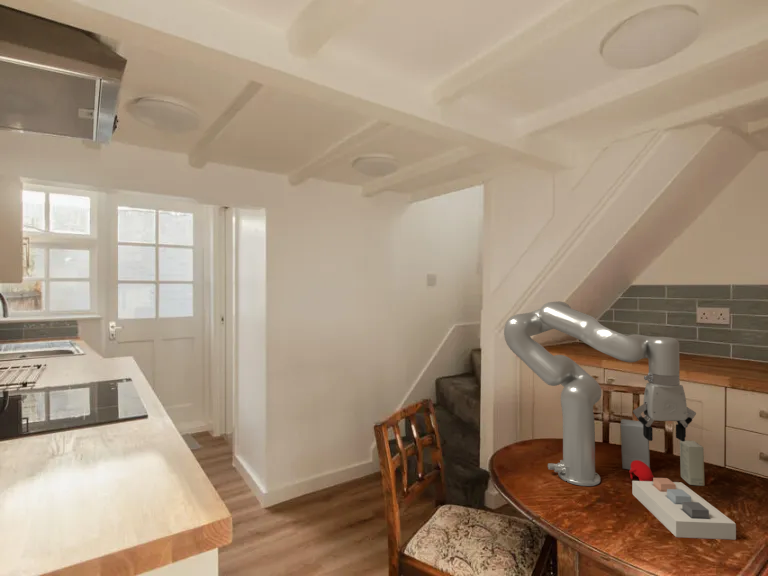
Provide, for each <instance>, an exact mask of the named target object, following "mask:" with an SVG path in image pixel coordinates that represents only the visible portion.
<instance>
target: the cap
mask: <svg viewBox="0 0 768 576" xmlns="http://www.w3.org/2000/svg"><path fill="white" fill-rule="evenodd" d="M628 472H629V475H630V479H631V480H633V478H634V477H633V476H634V475H635V476H636V477H638V481H653V478H655V476H654V474H653V472H652V470H651V467H650V468H649V467H648V466H647V465H646V464H645V463H644V462H642V461H639V460H634V461H632V463H631V469H630V470H629V471H628ZM633 474H634V475H633Z"/></svg>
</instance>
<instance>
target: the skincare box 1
mask: <svg viewBox="0 0 768 576" xmlns="http://www.w3.org/2000/svg"><path fill="white" fill-rule="evenodd" d="M620 438H621V439H620V440H621V441H620V442H621V445H620V446H621V462H622V464H621V465H622V469H623V470H629V471H630V469H631V463H632V461H634V460H639V461H642V462H644V463H645V464H646V465H647V466H648V467H649V468H650V469H651V465H650V464H651V463H650V460H651V459H650V458H651V457H650V441H649V440H648V439H646V438H645V437H644V435H643V424H642V423H641V422H640V421H639V420H633V419H632V420H631V419H625V418H624V419H623V418H622V419H621V421H620Z"/></svg>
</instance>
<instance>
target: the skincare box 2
mask: <svg viewBox="0 0 768 576" xmlns="http://www.w3.org/2000/svg"><path fill="white" fill-rule="evenodd" d="M704 453H705V452H704V446H702V445H701V444H699V443H698V442H696V441H695V440H685V441H681V440H679V459H680V460H679V461H680V465H679V466H680V477H681V478H682V480H684V481H685V482H686V483H687V484H688V485H691V486H701V487H705V460H704V457H705V455H704Z"/></svg>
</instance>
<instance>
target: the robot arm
mask: <svg viewBox="0 0 768 576" xmlns="http://www.w3.org/2000/svg"><path fill="white" fill-rule="evenodd" d="M551 330H556V331H558V332H560V333H563V334H565V335H568V336H570V337H573V338H575V339H578V340H579V341H581V342H583V343H584V344H585V345H588V346H590V347H591V348H593V349H594V350H597V351H599V352H601V353H603V354H605V355H608V356H609V357H612V358H614V359H617V360H619V361H622V362H624V363H625V362H626V363H636V362H638V361H640V360H641V359H642V360H643V359H647V360H648V372H647V375H644V376H643V379H644V381H647V382H646V383H645V384H646V385H645V388H644V393H643V402H642V403H643V404H641V405H639V406H638V407H636V408H635V409H633V411H632V412H633V415H634V416H635V418H636V420H637V421H640V422H641V423H642V424H643V435H644V437H645V438H646V439H648V440H649V442H652V441H653V438H654V437H653V427H652V425H653V423H654V422H655V421H660V422H662V421H663V422H676V423H677V424H676V425H675V438H676V439H678V440H679V441H680V440H681V441H686V437H687V433H686V432H687V431H686V430H687V428H688V427H689V424H691V422H692V421H693V419H694V418H695V416H696V414H697V412H696V411H694V410H693V409H691V408H690V407H688V405H687V398H686V394H685V393H686V392H685V389H684V386H683V385H682V384H680V378H681V377H680V342H679V340H678V339H677V338H674V337H671V336H649V335H648V336H647V335H645V334H644V335H643V334H637V333H635V334H628V335H626V334H623V333H620V332H617V331H615V330H613V329H610V328H608V327H606V326H604V325H602V324H601V323H600V322H599V321H598V320H597V319H596V317H594V316H592V315H591V314H587V313H584V312H582V311H579V310H576V309H573V308H572V307H571V306H570V305H569V304H567V302H564V301H549V302H546V303H545V304H543V305H542V306H541V307H540V308H538V309H536V310H533V311H530V312H526V313H518V314H515V315H513V316H510V317H509V318H508V320H507V321H506V322H505V325H504V329H503V337H504V340H505V342H506V345H507V346H508V349H510V351H511V352H513V354H514V355H516V357H518V358H519V360H521V361H522V362H523V363H524V364H525V365H527V367H528V368H529V369H530V370H531V371H532V372H533V373H534V374H535V375H536V376H537V377H538V378H540V379H541V380H542V381H543V383H545V384H546V385H548V386H552V387H557V386H559V385H561V386H562V387H563V388H562V390H561V392H560V406H561V412H562V459H560V460H559V461H560V462H557V463H553V462H551V463H547V468H548V469H547V470H549V471H550V470H553V471H554V473H557V475H558V477H559V478H560V479H562V481H564V482H566V481H567V483H568V484H569V483H570V484H572V485H576V486H581V487H593V486H597V485H599V484H600V483H601V476H600V475H599V474H598V473H597V472H596V437H595V436H596V433H595V432H596V431H595V428H596V427H595V426H596V425H595V416H594V405H595V404H596V403H598V402H599V401H600V399H601V398H602V393H603V391H602V387H601V385H600V384H599V382H598V381H597V380H596V378H594V377H593V376H592V375H590V374H589V373H588V372H587V371H586V370H585V369H584V368H582V367H581V366H580V365H579V364H578V363H577V362H575V360H573V359H572V358H570V357H569V356H566V355H563V354H555V355H553V354H552V353H551V352H549V351H548V350H547V349H546V348H545V347H544V346H543V345H541V344H540V343H539V342H538V341H535V340H534V339H533V338H532V337H533V336H537V335H539V334H542V333H545V332H547V331H551ZM642 413H643V415H644V417H643V415H642Z"/></svg>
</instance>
